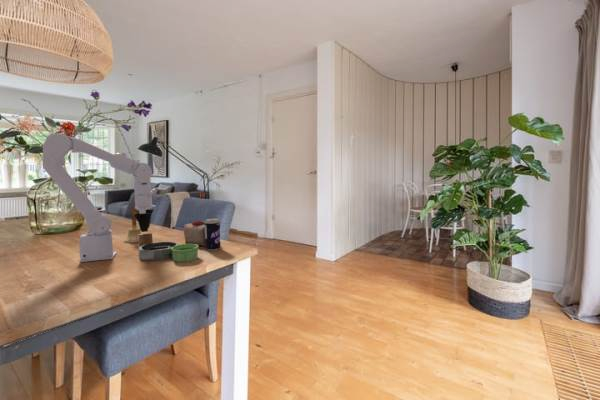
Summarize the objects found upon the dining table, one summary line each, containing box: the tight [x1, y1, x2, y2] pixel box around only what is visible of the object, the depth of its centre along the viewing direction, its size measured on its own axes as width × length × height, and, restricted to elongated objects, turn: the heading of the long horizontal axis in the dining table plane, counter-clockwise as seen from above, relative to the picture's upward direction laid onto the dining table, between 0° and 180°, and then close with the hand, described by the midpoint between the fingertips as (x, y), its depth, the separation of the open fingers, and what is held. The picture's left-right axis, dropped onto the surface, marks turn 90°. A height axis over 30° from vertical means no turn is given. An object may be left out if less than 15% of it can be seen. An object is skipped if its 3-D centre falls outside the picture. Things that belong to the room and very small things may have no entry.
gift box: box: [183, 219, 205, 248], centre depth 124 cm, size 14×8×10 cm, turn 60°
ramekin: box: [171, 243, 199, 263], centre depth 103 cm, size 9×9×4 cm
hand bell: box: [124, 204, 142, 244], centre depth 129 cm, size 8×8×16 cm
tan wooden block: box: [138, 232, 154, 248], centre depth 113 cm, size 4×2×6 cm, turn 113°
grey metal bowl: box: [138, 240, 179, 262], centre depth 107 cm, size 13×13×4 cm
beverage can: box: [204, 217, 221, 252], centre depth 114 cm, size 6×6×12 cm
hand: (145, 229), depth 113 cm, fingers open, 7 cm apart
